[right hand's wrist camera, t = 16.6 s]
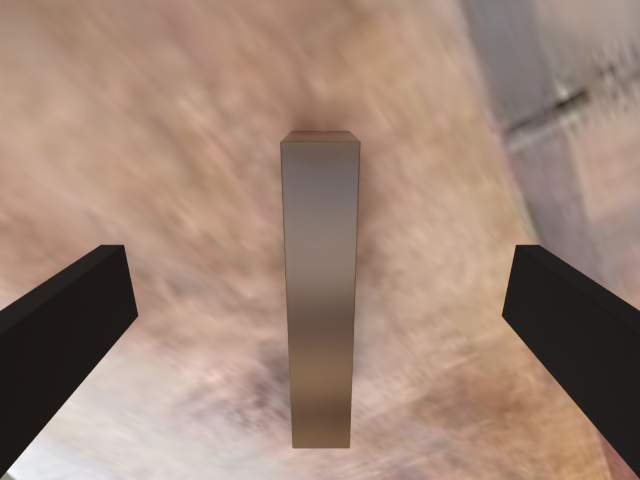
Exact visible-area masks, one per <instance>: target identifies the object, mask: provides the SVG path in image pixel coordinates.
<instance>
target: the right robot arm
mask: <svg viewBox="0 0 640 480" xmlns="http://www.w3.org/2000/svg"><path fill="white" fill-rule="evenodd" d="M137 317H138V312H137V307H136V302H135V297H134V292H133V287H132V283H131V278H130V273H129V268H128V263H127V258H126V253H125V248H124V245H100V246H99V247H97V248H96V249H94V250H92V251H91V252H89V253H88V254H86V255H85V256H83V257H82V258H80V259H79V260H77V261H76V262H74V263H73V264H71V265H70V266H68V267H67V268H65V269H63V270H62V271H60V272H59V273H57V274H56V275H54V276H53V277H51V278H50V279H48V280H47V281H45V282H44V283H42V284H41V285H39V286H38V287H36V288H34V289H33V290H31V291H30V292H28V293H27V294H25V295H24V296H22V297H21V298H19V299H18V300H16V301H15V302H13V303H12V304H10V305H9V306H7V307H5V308H4V309H2V310H1V311H0V479H1V477H2V476H3V475H4V474H5V473H6V472H7V470H8V469H9V468H10V467H11V466H12V464H13V463H14V462H15V461H16V460H17V459H18V457H19V456H20V455H21V454H22V453H23V452H24V450H25V449H26V448H27V447H28V446H29V444H30V443H31V442H32V441H33V440H34V439H35V437H36V436H37V435H38V434H39V433H40V431H41V430H42V429H43V428H44V427H45V426H46V424H47V423H48V422H49V421H50V420H51V418H52V417H53V416H54V415H55V414H56V413H57V411H58V410H59V409H60V408H61V407H62V405H63V404H64V403H65V402H66V401H67V400H68V398H69V397H70V396H71V395H72V394H73V392H74V391H75V390H76V389H77V388H78V387H79V385H80V384H81V383H82V382H83V381H84V379H85V378H86V377H87V376H88V375H89V374H90V372H91V371H92V370H93V369H94V368H95V366H96V365H97V364H98V363H99V362H100V361H101V359H102V358H103V357H104V356H105V355H106V353H107V352H108V351H109V350H110V349H111V348H112V346H113V345H114V344H115V343H116V342H117V341H118V339H119V338H120V337H121V336H122V335H123V333H124V332H125V331H126V330H127V329H128V328H129V326H130V325H131V324H132V323H133V322H134V320H135V319H136V318H137ZM502 317H503V318H504V319H505V320H506V322H507V323H508V324H509V325H510V326H511V328H512V329H513V330H514V331H515V332H516V333H517V335H518V336H519V337H520V338H521V339H522V341H523V342H524V343H525V344H526V345H527V346H528V348H529V349H530V350H531V351H532V352H533V353H534V355H535V356H536V357H537V358H538V359H539V361H540V362H541V363H542V364H543V365H544V366H545V368H546V369H547V370H548V371H549V372H550V374H551V375H552V376H553V377H554V378H555V379H556V381H557V382H558V383H559V384H560V385H561V387H562V388H563V389H564V390H565V391H566V392H567V394H568V395H569V396H570V397H571V398H572V400H573V401H574V402H575V403H576V404H577V405H578V407H579V408H580V409H581V410H582V411H583V413H584V414H585V415H586V416H587V417H588V418H589V420H590V421H591V422H592V423H593V424H594V426H595V427H596V428H597V429H598V430H599V431H600V433H601V434H602V435H603V436H604V437H605V439H606V440H607V441H608V442H609V443H610V444H611V446H612V447H613V448H614V449H615V450H616V452H617V453H618V454H619V455H620V456H621V457H622V459H623V460H624V461H625V462H626V463H627V464H628V466H629V467H630V468H631V469H632V470H633V472H634V473H635V474H636V475H637V476H638V477H639V479H640V311H639V310H638V309H636V308H635V307H633V306H631V305H630V304H628V303H627V302H625V301H624V300H622V299H621V298H619V297H618V296H616V295H615V294H613V293H612V292H610V291H609V290H607V289H606V288H604V287H602V286H601V285H599V284H598V283H596V282H595V281H593V280H592V279H590V278H589V277H587V276H586V275H584V274H583V273H581V272H580V271H578V270H577V269H575V268H573V267H572V266H570V265H569V264H567V263H566V262H564V261H563V260H561V259H560V258H558V257H557V256H555V255H554V254H552V253H551V252H549V251H548V250H546V249H544V248H543V247H541V246H540V245H516V248H515V253H514V258H513V263H512V268H511V273H510V278H509V283H508V287H507V292H506V297H505V302H504V307H503V312H502Z"/></svg>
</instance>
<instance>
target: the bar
mask: <svg viewBox="0 0 640 480" xmlns="http://www.w3.org/2000/svg"><path fill="white" fill-rule="evenodd" d="M280 147H281V172H282V197H283V222H284V247H285V272H286V297H287V322H288V348H289V373H290V398H291V423H292V447H293V448H350V426H351V398H352V369H353V340H354V311H355V282H356V253H357V224H358V195H359V166H360V141H359V140H358V139H357V138H356V137H355V136H354V135H353V134H352V133H351V132H350V131H308V132H290V133H289V134H288V135H287V136H286V137H285V138H284V139H283V140H282V141H281V142H280Z"/></svg>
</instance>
